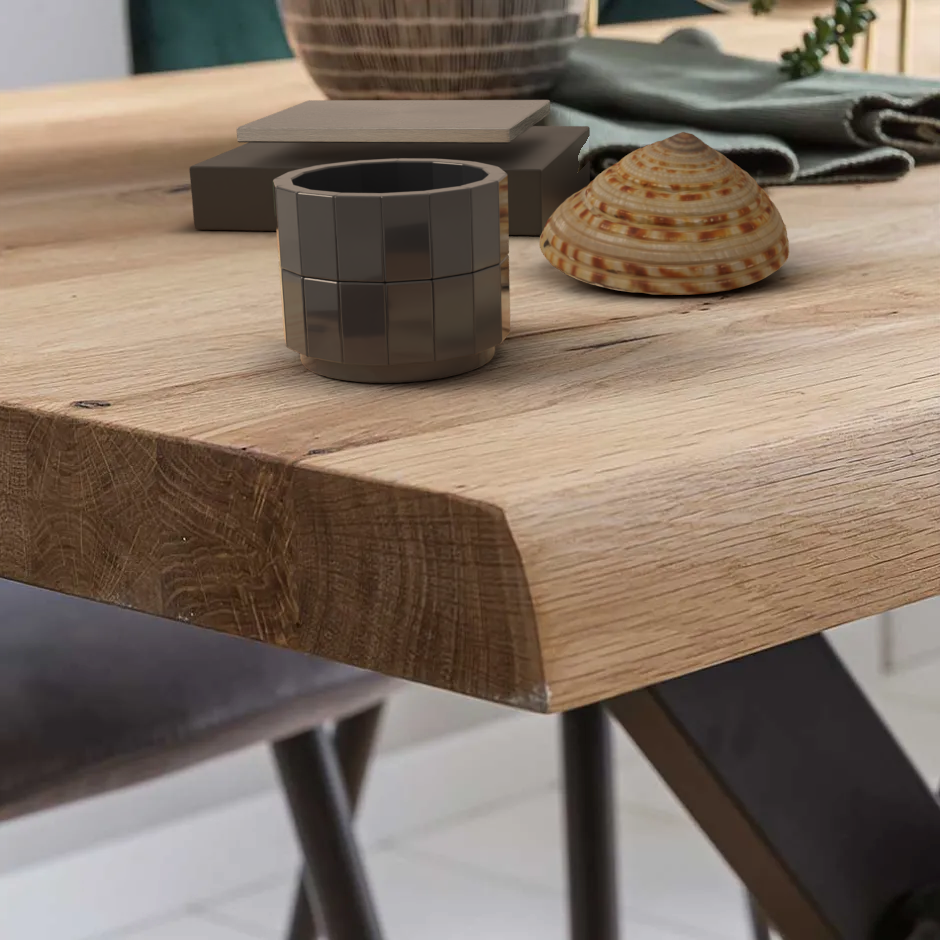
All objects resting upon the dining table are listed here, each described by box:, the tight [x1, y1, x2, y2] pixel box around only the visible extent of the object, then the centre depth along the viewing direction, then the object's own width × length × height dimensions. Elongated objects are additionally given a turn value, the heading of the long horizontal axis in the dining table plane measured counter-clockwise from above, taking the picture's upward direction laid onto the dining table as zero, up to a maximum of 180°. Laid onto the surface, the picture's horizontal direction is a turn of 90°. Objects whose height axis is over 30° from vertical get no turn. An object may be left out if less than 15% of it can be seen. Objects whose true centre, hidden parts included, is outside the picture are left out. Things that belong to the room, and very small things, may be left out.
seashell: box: [538, 131, 790, 296], centre depth 53 cm, size 8×6×8 cm
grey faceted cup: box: [273, 158, 511, 384], centre depth 43 cm, size 6×6×5 cm
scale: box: [188, 125, 591, 236], centre depth 66 cm, size 14×12×2 cm
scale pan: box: [236, 99, 551, 144], centre depth 65 cm, size 11×9×1 cm
